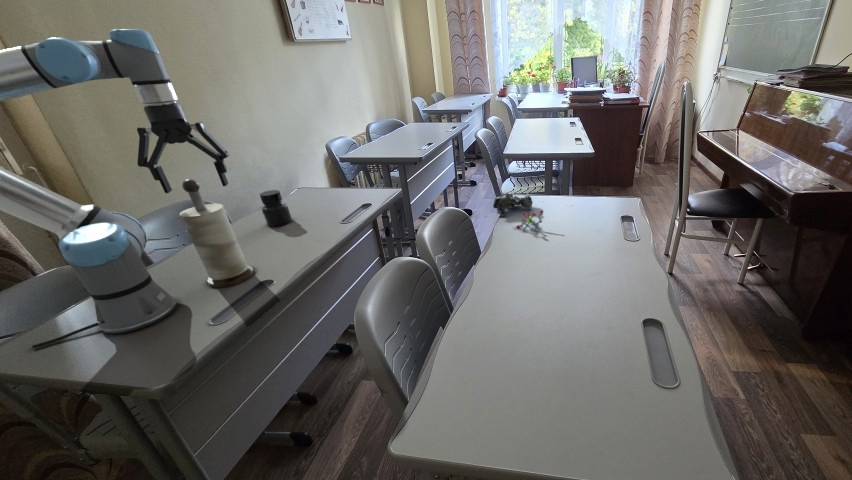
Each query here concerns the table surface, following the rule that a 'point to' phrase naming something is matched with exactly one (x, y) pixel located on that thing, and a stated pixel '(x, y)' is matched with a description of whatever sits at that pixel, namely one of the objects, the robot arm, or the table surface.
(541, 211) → the molecular model
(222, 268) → the towel holder
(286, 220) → the ink bottle
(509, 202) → the dark grey lumpy piece
